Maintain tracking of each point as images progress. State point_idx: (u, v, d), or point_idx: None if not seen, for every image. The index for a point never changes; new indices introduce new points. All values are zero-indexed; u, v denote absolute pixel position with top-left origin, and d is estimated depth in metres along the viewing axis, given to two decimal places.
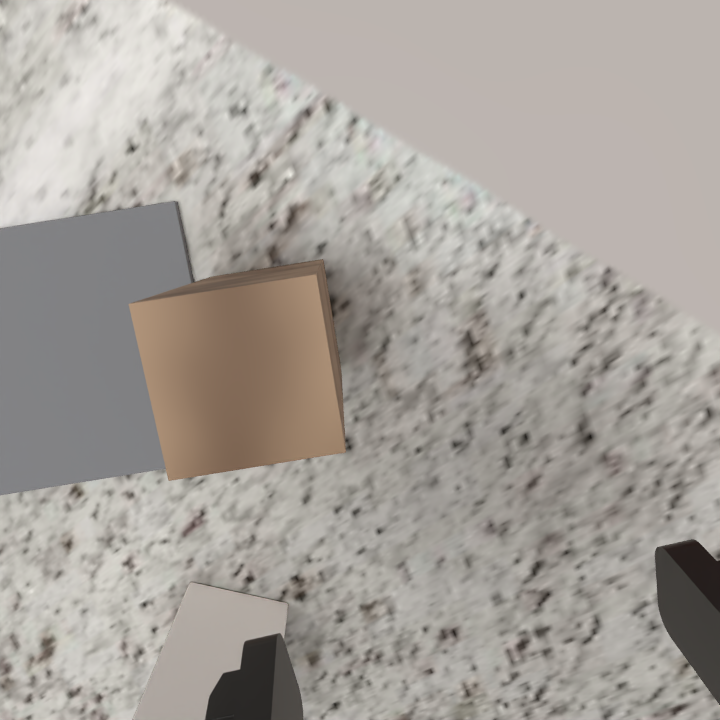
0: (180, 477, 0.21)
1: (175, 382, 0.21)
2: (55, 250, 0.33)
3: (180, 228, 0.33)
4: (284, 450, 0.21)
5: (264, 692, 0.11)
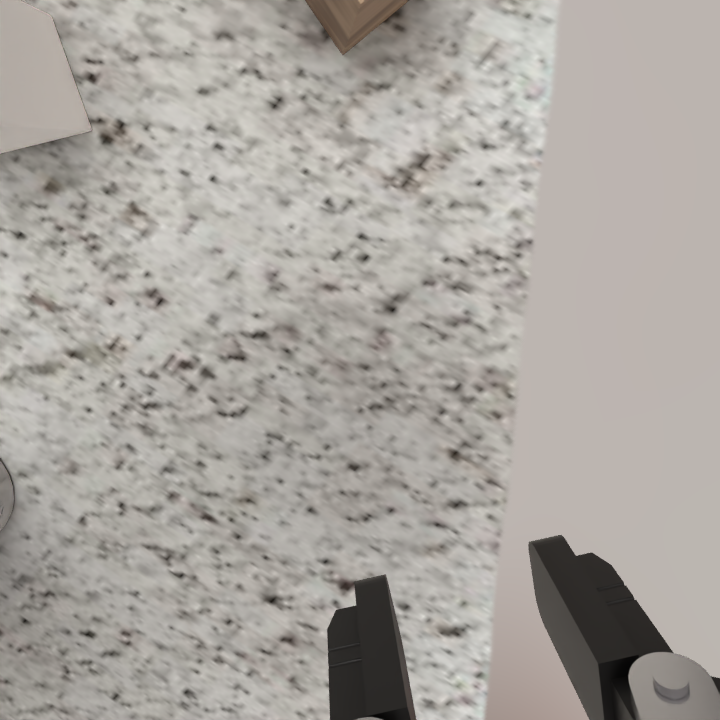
0: None
1: None
2: None
3: None
4: None
5: (385, 621, 0.12)
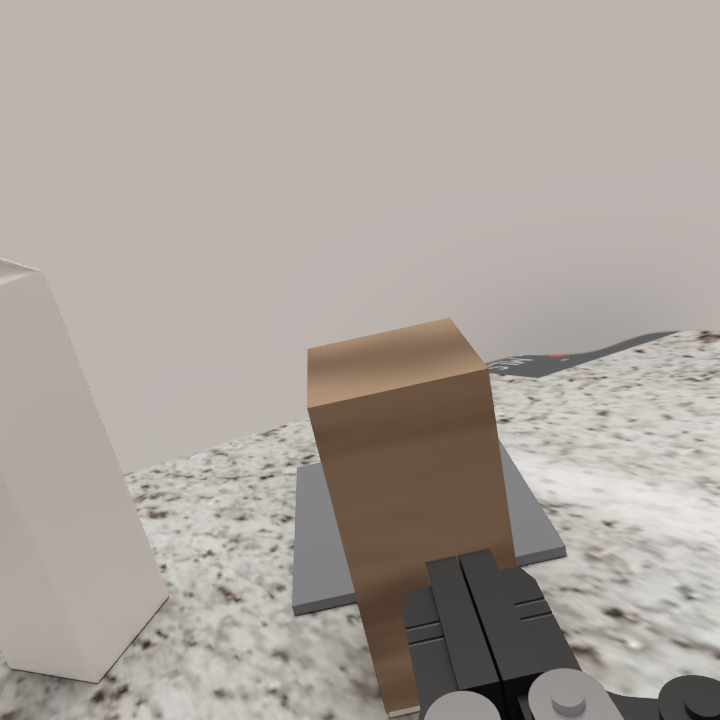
0: (308, 352, 0.26)
1: (387, 338, 0.25)
2: None
3: (538, 554, 0.32)
4: (318, 382, 0.22)
5: (463, 600, 0.12)
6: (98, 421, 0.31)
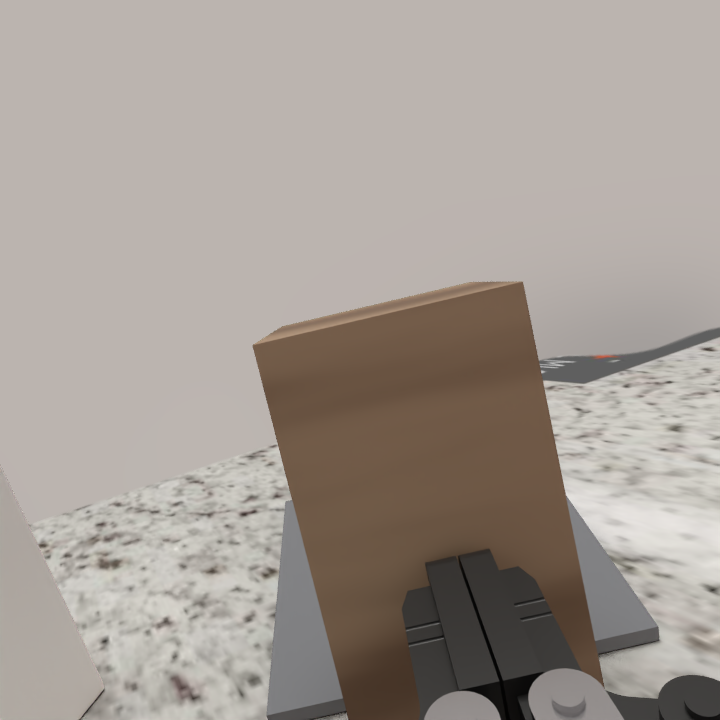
0: (282, 328, 0.19)
1: (386, 303, 0.19)
2: None
3: (619, 638, 0.22)
4: (280, 333, 0.16)
5: (463, 600, 0.12)
6: None
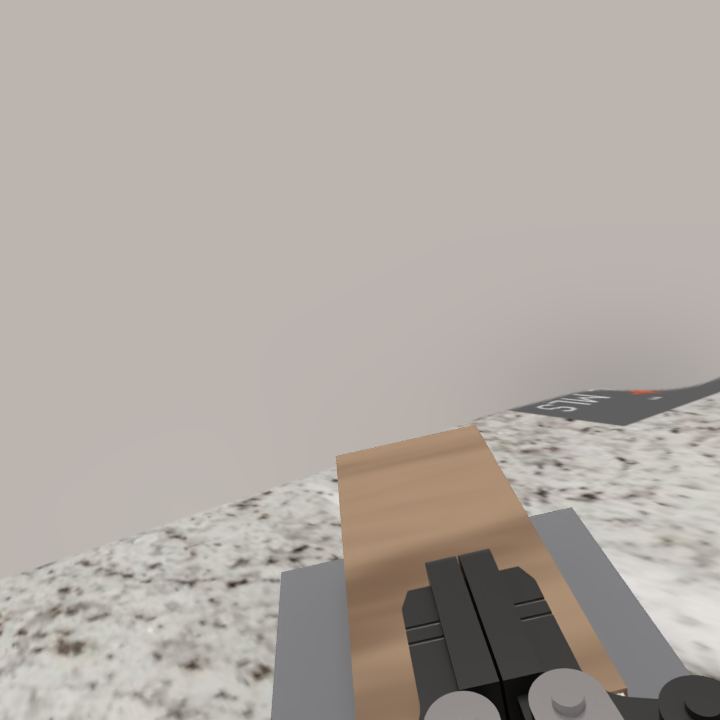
0: None
1: None
2: (611, 630, 0.23)
3: None
4: None
5: (463, 600, 0.12)
6: None
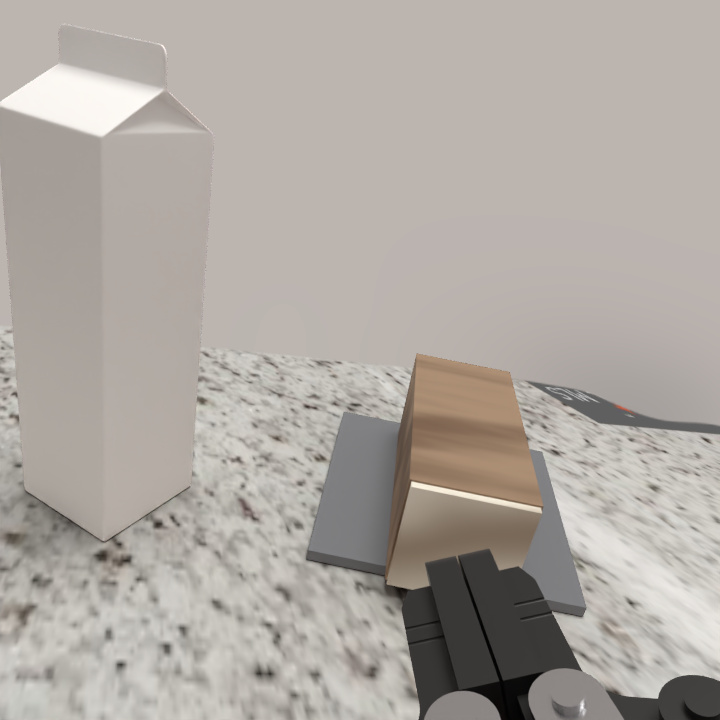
0: (400, 427, 0.43)
1: None
2: None
3: (557, 604, 0.31)
4: None
5: (463, 600, 0.12)
6: (200, 300, 0.30)
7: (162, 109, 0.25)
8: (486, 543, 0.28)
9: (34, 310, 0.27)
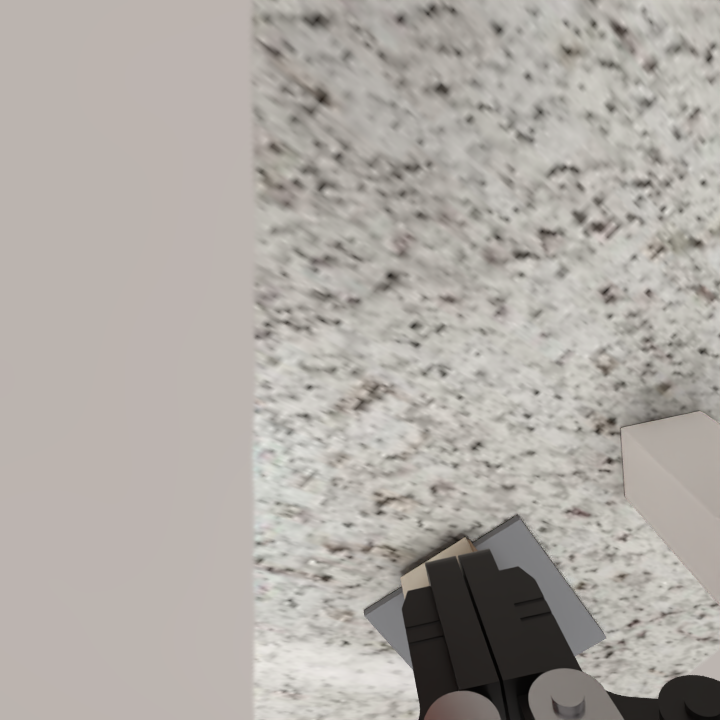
0: None
1: None
2: None
3: (379, 605, 0.48)
4: None
5: (463, 600, 0.12)
6: (713, 596, 0.37)
7: None
8: None
9: None
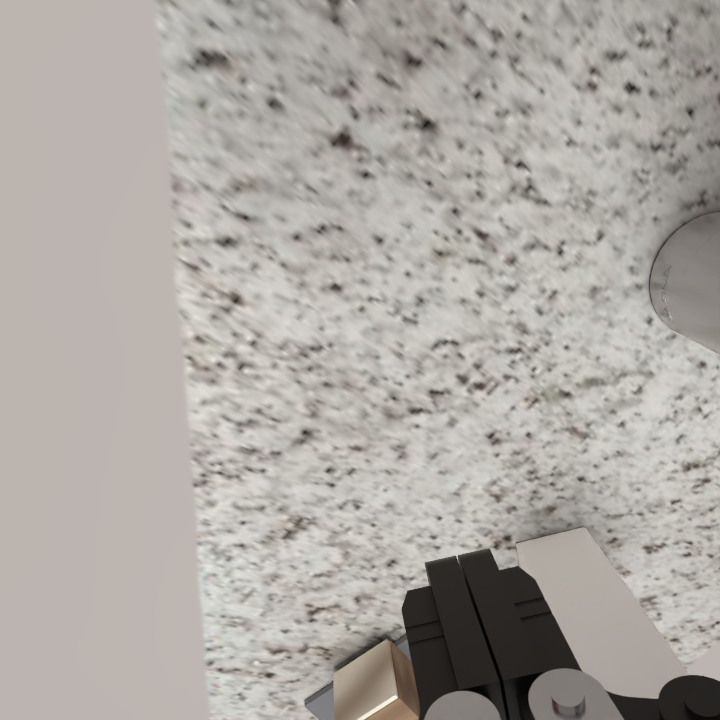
0: None
1: None
2: None
3: (316, 696, 0.56)
4: None
5: (463, 600, 0.12)
6: None
7: None
8: (352, 697, 0.51)
9: (624, 623, 0.42)
